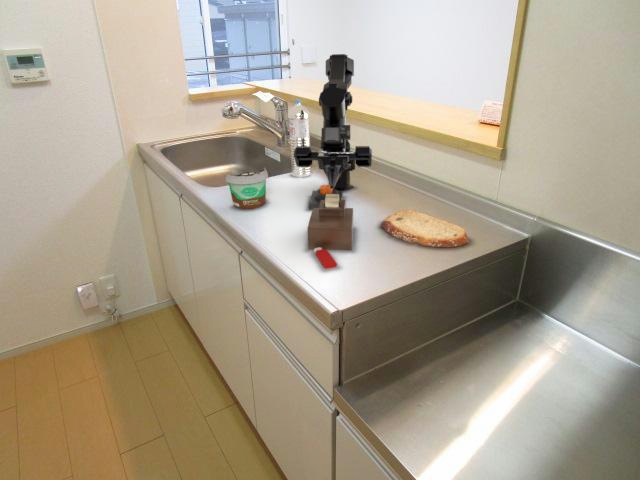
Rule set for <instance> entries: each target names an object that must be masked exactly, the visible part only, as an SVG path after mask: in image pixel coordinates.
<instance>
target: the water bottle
mask: <svg viewBox="0 0 640 480" xmlns="http://www.w3.org/2000/svg"><path fill="white" fill-rule="evenodd" d="M301 101H302V100H301V99H298V98H297V99H294V103H295V104H294V105H292V107H291V108H290V109H289V111H288V113H287V118H288V129H289V130H288V131H289V139H288V140H289V153H290V171H291V176H292V177H295V178H306V177H309V176H310V175H311V174H312V165H311V166H310V167H298V166H297V165H296V162H295V158H294V149H295V148H296V147H297V146H311V136H310V113H309V111H308V109H307V108H306V106H304V105H302V104H301V103H302V102H301Z"/></svg>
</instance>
